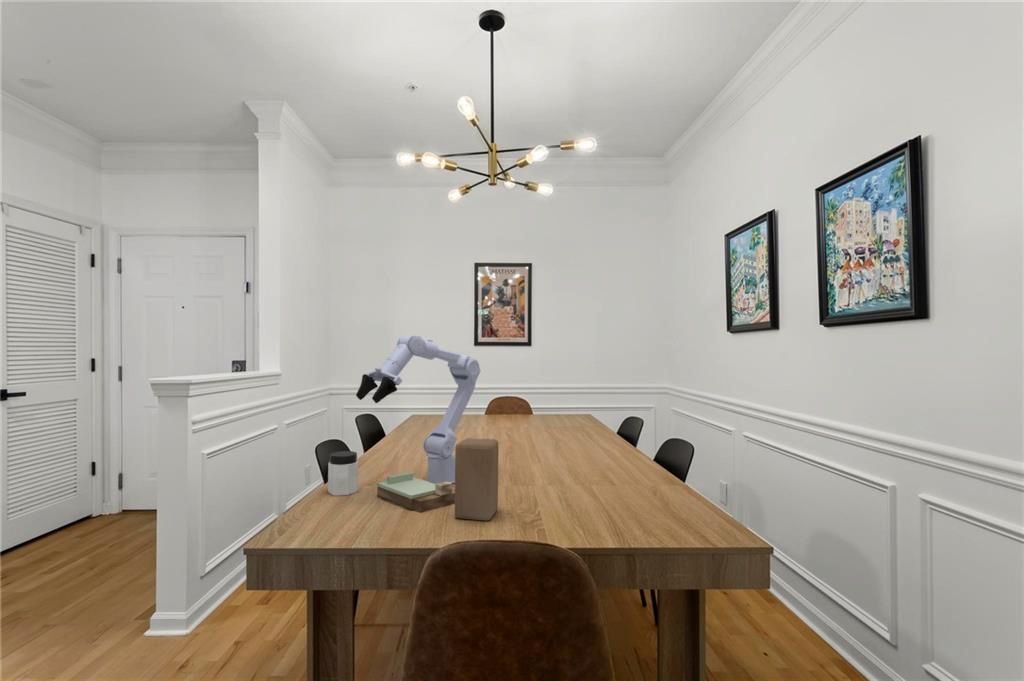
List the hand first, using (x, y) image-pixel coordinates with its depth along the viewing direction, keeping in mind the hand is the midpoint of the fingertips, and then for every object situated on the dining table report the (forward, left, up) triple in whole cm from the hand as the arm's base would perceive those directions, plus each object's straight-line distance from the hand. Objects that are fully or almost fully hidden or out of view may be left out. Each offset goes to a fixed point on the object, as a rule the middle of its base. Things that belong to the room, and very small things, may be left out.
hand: (366, 399), depth 150 cm
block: (-16, +31, -30) cm, 46 cm away
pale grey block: (-15, +18, -27) cm, 36 cm away
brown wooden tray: (-14, +8, -30) cm, 34 cm away
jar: (0, -14, -30) cm, 33 cm away
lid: (-11, +7, -27) cm, 30 cm away
